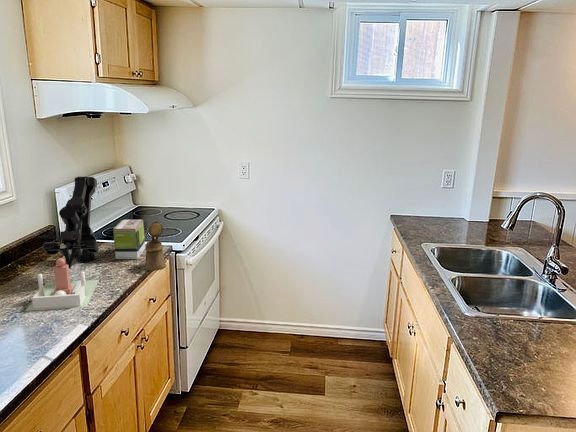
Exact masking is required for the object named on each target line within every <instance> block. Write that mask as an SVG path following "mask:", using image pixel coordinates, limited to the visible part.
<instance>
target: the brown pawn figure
mask: <svg viewBox="0 0 576 432" xmlns="http://www.w3.org/2000/svg"><path fill="white" fill-rule="evenodd" d="M163 232H164V226H163V224H161V223H160V222H159V221H154V222H153V223H151V224H150V225H149V227H148V234H149V235H150V236H151V240H149V241H146V244H145V260H144V261H145V263H144V269H145V270H147V271H151V272H152V271H153V272H154V271H161V270H164V269H166V268H167V264H166V263H167V262H166V261H165V255H164V249H163V248H164V247H163V243H162V241H160V240H159V236H161V235H162V234H163Z"/></svg>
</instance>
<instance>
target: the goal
mask: <svg viewBox="0 0 576 432" xmlns="http://www.w3.org/2000/svg"><path fill="white" fill-rule="evenodd" d="M85 273H86V272H85V271H80V274H79V275H80V280H81V289H80V290H79V292H78V294H71V295H55V296H45V295H44V287H43V286H44V280H43V278H44V277H43V274H42V273H37V283H38V290H37V291H36V293H35V294H34V295H33V297H32V298H31V299H32V301H33V308H34V309H42V308H56V307H70V306H81V304H82V302H83V300H84V298H85V296H86V295H87V294H86V284H85V280H86V276H85Z"/></svg>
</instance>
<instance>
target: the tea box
mask: <svg viewBox="0 0 576 432" xmlns="http://www.w3.org/2000/svg"><path fill="white" fill-rule="evenodd" d="M112 231H113V233H112V234H113V242H114V243H113V244H114V254H115V255H114V256H115V259H116V260H138V259H139V258H140V256H141V255H142V253H143V252H144V250H146V240H145V228H144V219H122V220H121V221H120V222H118V223H117V224H116V226H114V227H113V229H112Z"/></svg>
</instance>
